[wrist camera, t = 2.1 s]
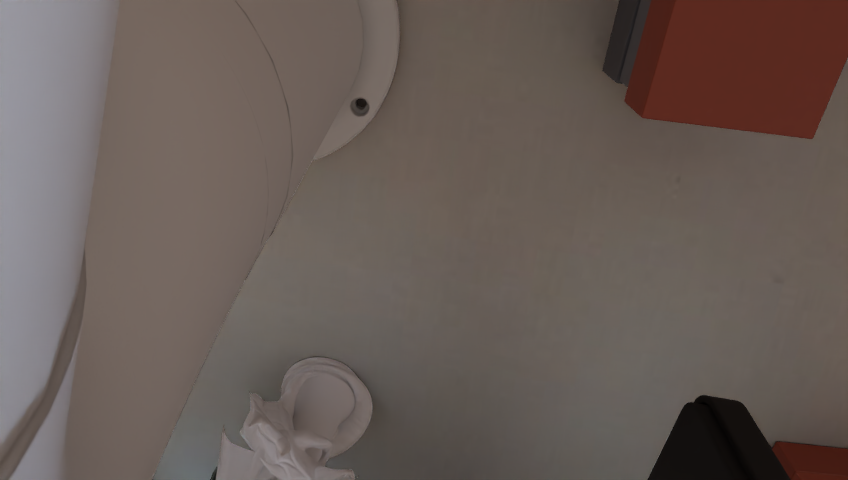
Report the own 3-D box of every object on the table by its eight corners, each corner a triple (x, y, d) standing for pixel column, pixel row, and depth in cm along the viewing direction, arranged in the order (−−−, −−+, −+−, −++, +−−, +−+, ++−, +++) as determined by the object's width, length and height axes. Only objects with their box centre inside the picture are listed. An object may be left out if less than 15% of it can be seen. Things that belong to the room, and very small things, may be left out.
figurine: (374, 436, 39) (349, 627, 28) (254, 427, 39) (183, 616, 28) (382, 293, 34) (356, 460, 23) (244, 282, 34) (154, 445, 23)
